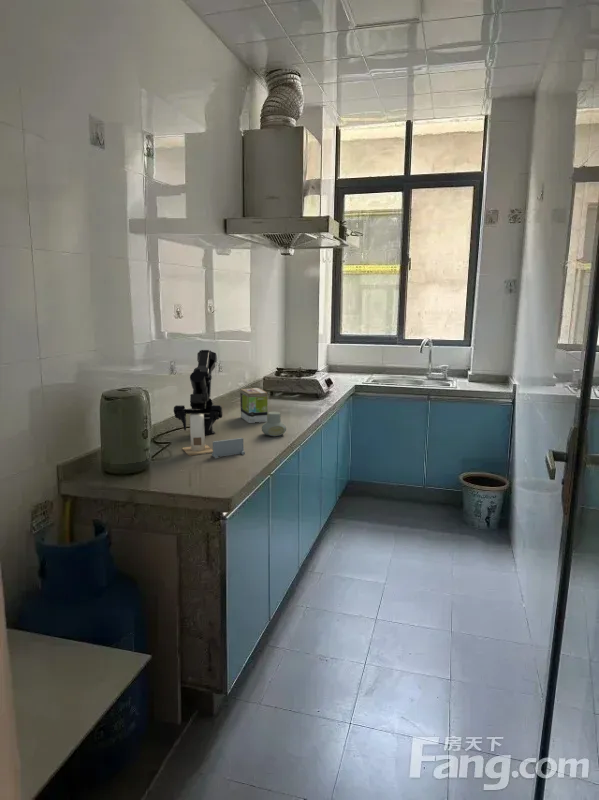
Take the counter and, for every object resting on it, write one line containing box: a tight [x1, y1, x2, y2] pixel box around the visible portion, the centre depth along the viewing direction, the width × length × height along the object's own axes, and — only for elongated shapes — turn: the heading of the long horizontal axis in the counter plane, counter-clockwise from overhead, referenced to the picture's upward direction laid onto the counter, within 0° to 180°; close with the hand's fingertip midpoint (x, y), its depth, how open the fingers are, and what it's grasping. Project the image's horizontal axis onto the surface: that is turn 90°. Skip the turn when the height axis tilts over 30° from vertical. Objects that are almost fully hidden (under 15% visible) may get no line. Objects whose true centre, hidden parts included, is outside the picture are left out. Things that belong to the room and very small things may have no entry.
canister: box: [189, 413, 206, 451], centre depth 211 cm, size 6×6×14 cm
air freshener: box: [261, 411, 287, 437], centre depth 236 cm, size 11×8×10 cm
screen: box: [211, 437, 246, 459], centre depth 207 cm, size 4×12×6 cm, turn 117°
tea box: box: [239, 387, 269, 424], centre depth 264 cm, size 15×10×15 cm, turn 22°
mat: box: [182, 444, 213, 457], centre depth 212 cm, size 10×10×1 cm
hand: (196, 430), depth 209 cm, fingers open, 9 cm apart
